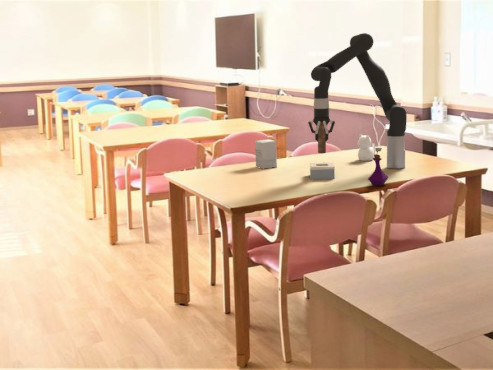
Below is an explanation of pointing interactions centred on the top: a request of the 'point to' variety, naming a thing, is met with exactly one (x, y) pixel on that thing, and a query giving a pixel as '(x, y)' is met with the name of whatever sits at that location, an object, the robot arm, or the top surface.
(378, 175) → the perfume bottle
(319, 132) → the walnut peg
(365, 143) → the cat figurine
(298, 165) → the top surface
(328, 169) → the grey box cream lid
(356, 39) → the robot arm
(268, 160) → the supplement box
